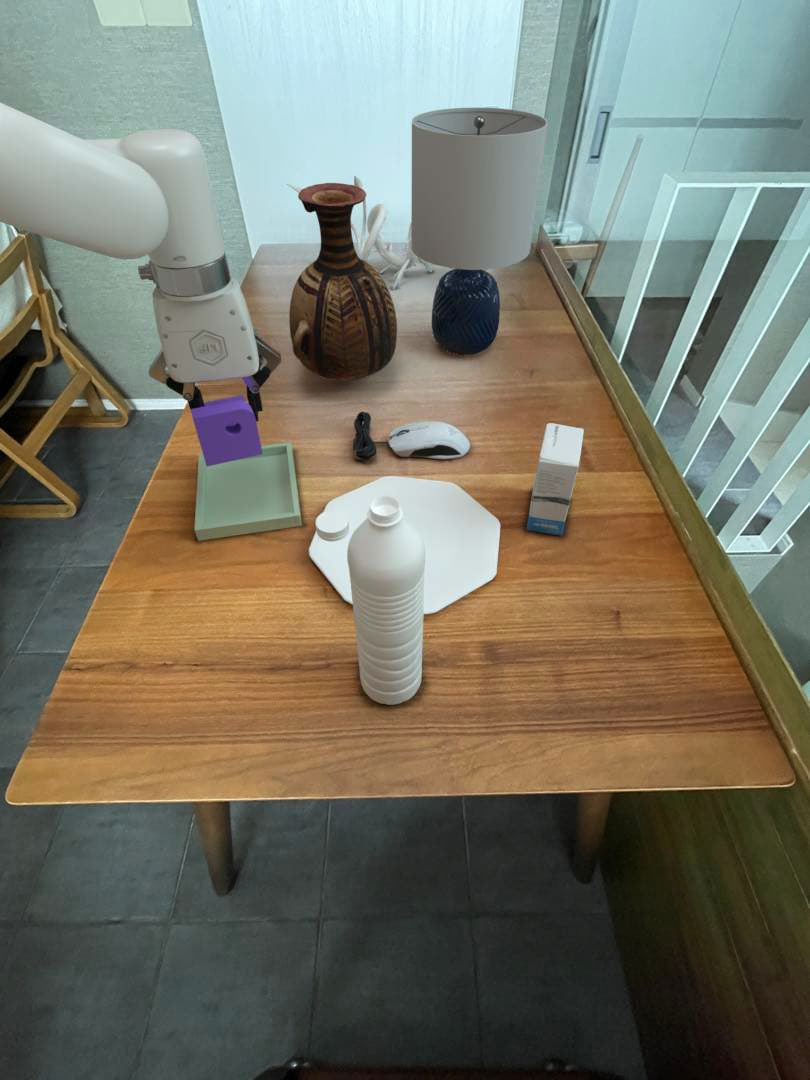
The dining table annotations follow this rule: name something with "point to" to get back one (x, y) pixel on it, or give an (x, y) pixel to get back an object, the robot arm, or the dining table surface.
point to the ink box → (555, 478)
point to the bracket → (227, 430)
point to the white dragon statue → (374, 227)
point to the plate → (446, 529)
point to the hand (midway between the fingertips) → (229, 417)
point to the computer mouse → (412, 440)
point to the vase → (340, 296)
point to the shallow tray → (247, 494)
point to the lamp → (473, 211)
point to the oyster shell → (257, 333)
